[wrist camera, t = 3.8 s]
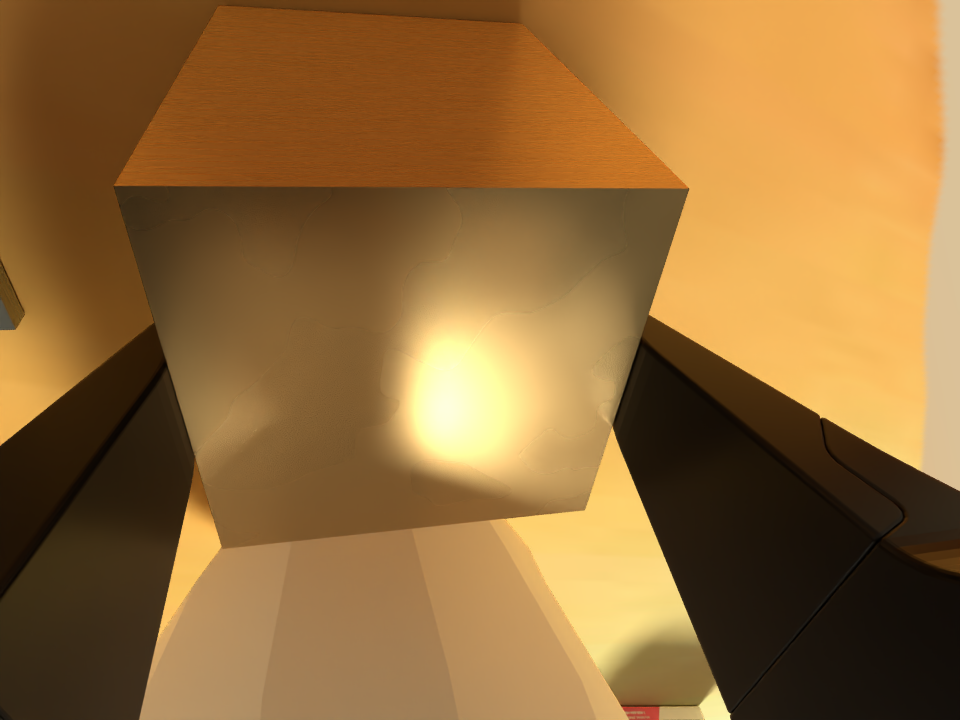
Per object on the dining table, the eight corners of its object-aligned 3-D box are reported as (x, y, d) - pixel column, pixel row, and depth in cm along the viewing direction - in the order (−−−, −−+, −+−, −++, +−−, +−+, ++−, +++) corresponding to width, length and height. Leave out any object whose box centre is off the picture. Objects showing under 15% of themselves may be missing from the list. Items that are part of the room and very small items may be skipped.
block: (492, 268, 17) (585, 510, 11) (260, 273, 16) (222, 548, 10) (521, 23, 13) (688, 187, 7) (219, 5, 12) (113, 185, 6)
